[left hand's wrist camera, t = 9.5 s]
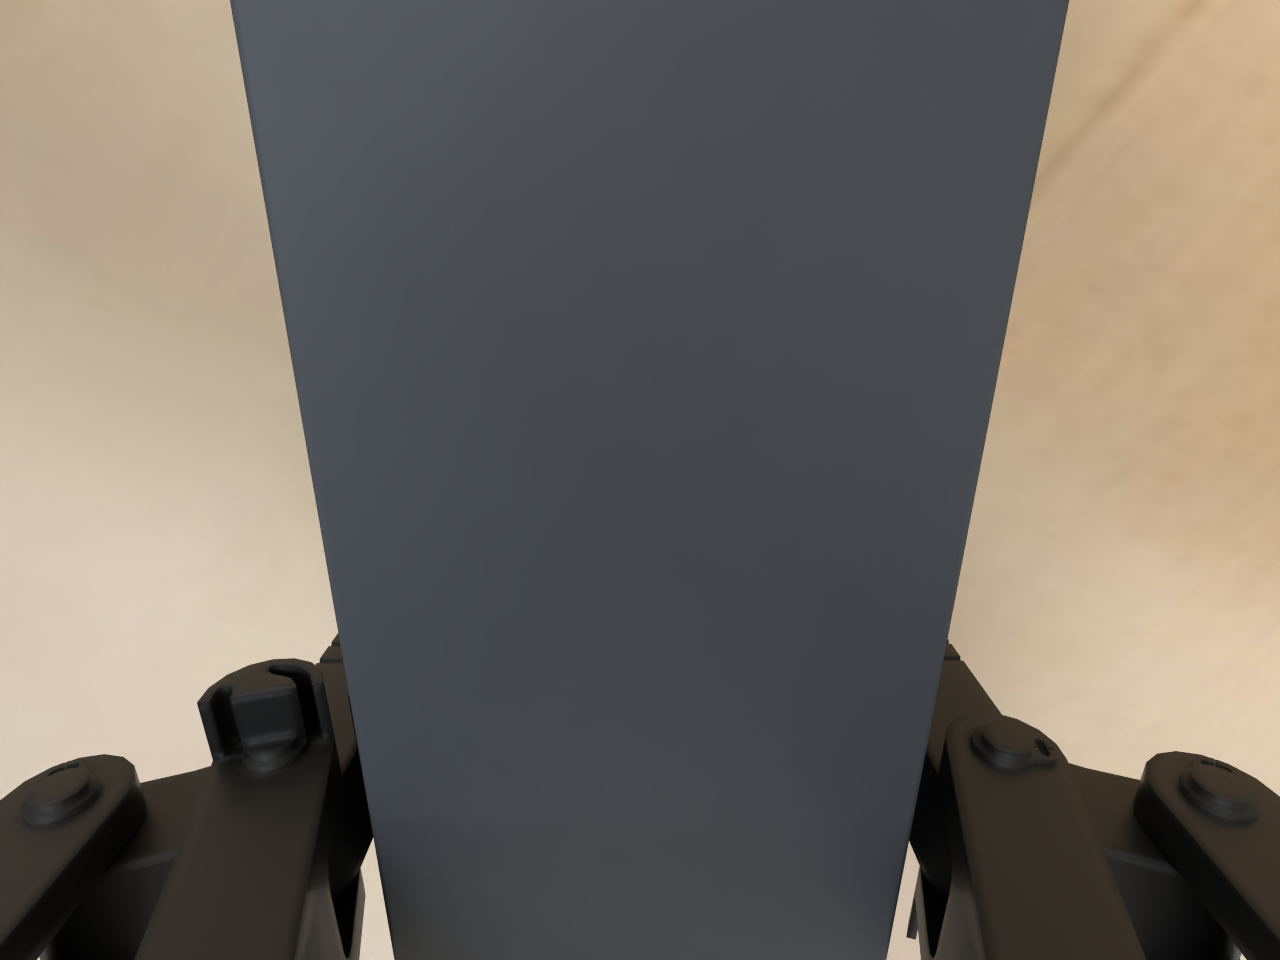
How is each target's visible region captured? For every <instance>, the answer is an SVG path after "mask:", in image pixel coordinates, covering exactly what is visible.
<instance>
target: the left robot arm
mask: <svg viewBox="0 0 1280 960" xmlns="http://www.w3.org/2000/svg"><path fill="white" fill-rule="evenodd" d="M197 705H198V708H199V712H200V715H201V719H202V722H203V726H204V730H205V733H206V737H207V740H208V744H209V747H210V751H211V755H212V758H213V762H212V765H211V766H210V767H206V768H203V769H199V770H196V771H192V772H188V773H183V774H179V775H174V776H170V777H165V778H161V779H156V780H152V781H148V782H143V783H140V782H139V779H138V776H137V773H136V770H135V767H134V765H133V764H132V763H130V762H129V761H128V760H127V759H125V758H124V757H120V756H113V755H106V754H103V755H96V756H89V757H82V758H78V759H75V760H72V761H68V762H66V763H62V764H59V765H57V766H54V767H51V768H50V769H48V770H46V771H44V772H42V773H40V774H38V775H36V776H34V777H33V778H31V779H29V780H27V781H25V782H23V783H22V784H21V785H20V786H18V787H17V788H16V789H14V790H13V791H12V792H11V793H9V794H8V795H7V796H5V797H4V798H3V799H1V800H0V960H37V959H38V957H39V958H40V960H359V955H360V945H361V935H362V924H363V914H364V903H365V890H364V883H363V878H362V873H361V865H362V863H363V860H364V858H365V856H366V853H367V851H368V848H369V846H370V844H371V841H372V839H373V831H372V825H371V819H370V814H369V808H368V802H367V796H366V790H365V784H364V779H363V773H362V767H361V761H360V755H359V749H358V744H357V738H356V732H355V726H354V720H353V714H352V709H351V703H350V697H349V691H348V685H347V679H346V674H345V668H344V662H343V656H342V650H341V644H340V639H339V633H338V634H337V636H336V637H335V638H334V640H333V641H332V645H331V646H329V647H328V648H327V650H326V651H325V652H324V654H323V655H322V657H321V658H320V663H317V664H316V665H314V664H313V663H312V662H308V661H303V660H299V659H295V658H294V659H273V660H269V661H265V662H260V663H256V664H252V665H249V666H246V667H244V668H242V669H240V670H237V671H235V672H233V673H231V674H228V675H226V676H225V677H224V678H222V679H221V680H219V681H218V682H216V683H215V684H214V685H212V686H211V687H209V688H208V689H207V691H206V692H205V693H204V694H203V696H202V697H201V698H200V700H199V701H198V702H197ZM909 841H910V844H911V846H912V848H913V851H914V853H915V855H916V858H917V860H918V862H919V865H920V867H919V873H918V878H917V883H916V888H915V893H914V898H913V903H912V908H911V913H910V918H909V924H908V930H907V937H908V938H912V939H916V935H917V930H918V933H919V943H920V953H921V960H1240V959H1239V958H1240V956H1241V954H1243V955H1244V957H1245V958H1246V959H1247V960H1280V797H1279V796H1278V795H1277V794H1276V793H1274V792H1273V791H1272V790H1270V789H1269V788H1268V787H1266V786H1265V785H1264V784H1263V783H1261V782H1260V781H1259V780H1257V779H1256V778H1254V777H1252V776H1250V775H1248V774H1246V773H1245V772H1243V771H1241V770H1239V769H1237V768H1235V767H1233V766H1231V765H1229V764H1227V763H1224V762H1221V761H1219V760H1215V759H1213V758H1209V757H1206V756H1203V755H1199V754H1192V753H1185V752H1178V751H1174V752H1167V753H1160V754H1156V755H1155V756H1154V757H1153V758H1151V759H1150V760H1149V761H1147V762H1146V765H1145V768H1144V771H1143V774H1142V777H1141V780H1137V779H1132V778H1128V777H1123V776H1119V775H1114V774H1110V773H1105V772H1101V771H1096V770H1092V769H1087V768H1084V767H1080V766H1077V765H1073V764H1070V763H1068V761H1067V759H1066V758H1065V756H1064V755H1063V753H1062V752H1061V750H1060V749H1059V747H1058V746H1057V744H1056V743H1054V742H1053V741H1052V740H1051V739H1050V738H1048V737H1047V736H1046V735H1045V734H1043V733H1042V732H1041V731H1040V730H1038V729H1036V728H1034V727H1032V726H1030V725H1028V724H1026V723H1024V722H1022V721H1020V720H1018V719H1015V718H1011V717H1007V716H1004V715H1002V714H1001V713H1000V712H999V710H998V709H997V707H996V706H995V705H994V703H993V702H992V700H991V699H990V698H989V696H988V695H987V693H986V692H985V691H984V689H983V688H982V686H981V685H980V684H979V682H978V681H977V679H976V678H975V677H974V675H973V674H972V672H971V671H970V670H969V668H968V667H967V665H966V664H965V663H964V661H961V660H960V656H959V654H958V653H957V651H956V650H955V649H954V647H953V646H952V644H949V643H948V639H947V643H946V649H945V654H944V659H943V664H942V669H941V675H940V680H939V685H938V690H937V696H936V701H935V706H934V711H933V717H932V722H931V727H930V732H929V738H928V743H927V748H926V753H925V759H924V764H923V769H922V774H921V780H920V785H919V790H918V795H917V801H916V806H915V811H914V816H913V822H912V827H911V832H910V837H909Z"/></svg>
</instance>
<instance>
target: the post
mask: <svg viewBox="0 0 1280 960" xmlns="http://www.w3.org/2000/svg"><path fill="white" fill-rule="evenodd" d="M230 3H231V8H232V14H233V20H234V26H235V32H236V38H237V43H238V49H239V55H240V61H241V67H242V73H243V78H244V84H245V90H246V96H247V102H248V108H249V113H250V119H251V125H252V131H253V137H254V143H255V148H256V154H257V160H258V166H259V172H260V178H261V183H262V189H263V195H264V201H265V207H266V213H267V218H268V224H269V230H270V236H271V242H272V248H273V253H274V259H275V265H276V271H277V277H278V283H279V288H280V294H281V300H282V306H283V312H284V318H285V323H286V329H287V335H288V341H289V347H290V353H291V359H292V364H293V370H294V376H295V382H296V388H297V394H298V399H299V405H300V411H301V417H302V423H303V429H304V434H305V440H306V446H307V452H308V458H309V464H310V469H311V475H312V481H313V487H314V493H315V499H316V504H317V510H318V516H319V522H320V528H321V534H322V539H323V545H324V551H325V557H326V563H327V569H328V574H329V580H330V586H331V592H332V598H333V604H334V609H335V615H336V621H337V627H338V633H339V639H340V644H341V650H342V656H343V662H344V668H345V674H346V679H347V685H348V691H349V697H350V703H351V709H352V714H353V720H354V726H355V732H356V738H357V744H358V749H359V755H360V761H361V767H362V773H363V779H364V784H365V790H366V796H367V802H368V808H369V814H370V819H371V825H372V831H373V837H374V843H375V849H376V854H377V860H378V866H379V872H380V878H381V884H382V889H383V895H384V901H385V907H386V913H387V919H388V924H389V930H390V936H391V942H392V948H393V954H394V959H395V960H886V958H887V953H888V948H889V942H890V937H891V932H892V927H893V921H894V916H895V911H896V906H897V900H898V895H899V890H900V885H901V879H902V874H903V869H904V864H905V858H906V853H907V848H908V843H909V837H910V832H911V827H912V822H913V816H914V811H915V806H916V801H917V795H918V790H919V785H920V780H921V774H922V769H923V764H924V759H925V753H926V748H927V743H928V738H929V732H930V727H931V722H932V717H933V711H934V706H935V701H936V696H937V690H938V685H939V680H940V675H941V669H942V664H943V659H944V654H945V649H946V643H947V638H948V633H949V628H950V622H951V617H952V612H953V607H954V601H955V596H956V591H957V586H958V580H959V575H960V570H961V565H962V559H963V554H964V549H965V544H966V538H967V533H968V528H969V523H970V517H971V512H972V507H973V502H974V496H975V491H976V486H977V481H978V475H979V470H980V465H981V460H982V454H983V449H984V444H985V439H986V433H987V428H988V423H989V418H990V412H991V407H992V402H993V397H994V391H995V386H996V381H997V376H998V370H999V365H1000V360H1001V355H1002V349H1003V344H1004V339H1005V334H1006V328H1007V323H1008V318H1009V313H1010V307H1011V302H1012V297H1013V292H1014V287H1015V281H1016V276H1017V271H1018V266H1019V260H1020V255H1021V250H1022V245H1023V239H1024V234H1025V229H1026V224H1027V218H1028V213H1029V208H1030V203H1031V197H1032V192H1033V187H1034V182H1035V176H1036V171H1037V166H1038V161H1039V155H1040V150H1041V145H1042V140H1043V134H1044V129H1045V124H1046V119H1047V113H1048V108H1049V103H1050V98H1051V92H1052V87H1053V82H1054V77H1055V71H1056V66H1057V61H1058V56H1059V50H1060V45H1061V40H1062V35H1063V29H1064V24H1065V19H1066V14H1067V8H1068V3H1069V0H230Z"/></svg>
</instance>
